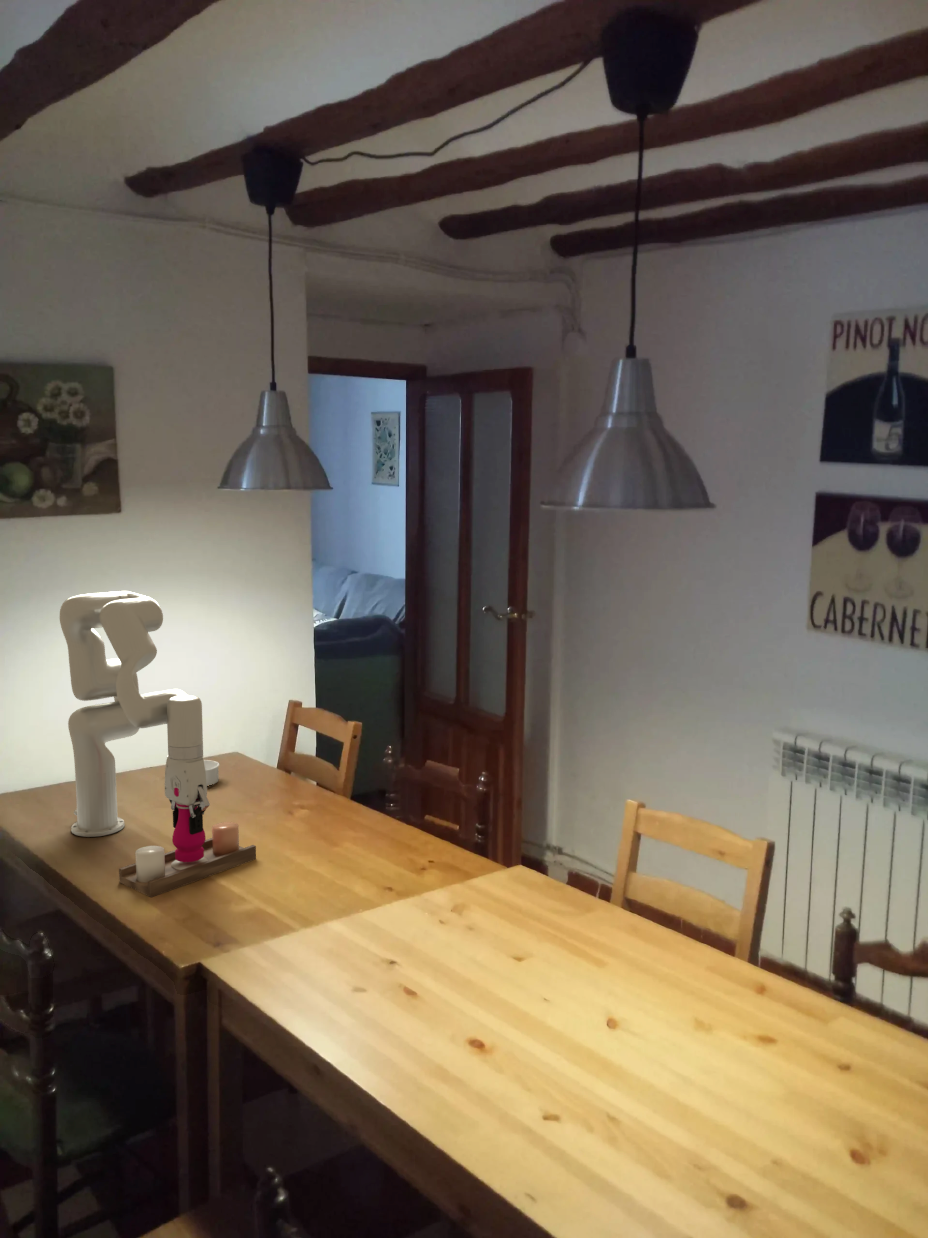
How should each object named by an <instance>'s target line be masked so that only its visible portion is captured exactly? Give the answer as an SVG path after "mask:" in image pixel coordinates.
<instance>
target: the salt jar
mask: <svg viewBox="0 0 928 1238" xmlns="http://www.w3.org/2000/svg"><path fill="white" fill-rule="evenodd" d="M135 863H136V877H137V880H138V881H139V882H144V883H148V881H151V880H154V879H157V878H160V877H163V876H165V848H164V847H163V846H160V845H147V846H143V847H140V848H138V849H136V850H135Z"/></svg>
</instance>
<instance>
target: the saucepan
mask: <svg viewBox="0 0 928 1238" xmlns="http://www.w3.org/2000/svg"><path fill="white" fill-rule="evenodd" d="M203 760H204V765H205V772H206V781H207V786H208V785H212V784H213V785H215V784H216V783H218V782H219V780H220V779H219V778H220V777H219V775H220V774H219V766H220V765H221V763H220V762H219V761H215V760H210V759H203ZM213 785H212V786H213Z"/></svg>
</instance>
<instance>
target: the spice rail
mask: <svg viewBox="0 0 928 1238" xmlns="http://www.w3.org/2000/svg"><path fill="white" fill-rule="evenodd" d="M202 847H203V848H204V856H203V858H202V859H200V860H197V861H193V862H180V861H177V860H176V859H175V850H176V849H174V850H171V851H167V852H164V854H165V876H163V877H160V878H157V879H154V880H151V881H148V883H144V882H139V881H138V880H137V877H136V862H135V863H131V864H129V865H125V866H122V867H119V868H118V875H119V877H118V878H119V879H118V880H119V884H122V885H125V886H126V887H128V888H131V889H132V890H135V891H136V892H139V893H142V894H143V895H145V896H147V897H149V898H153V897H156V896H158V895H162V894H164V893H167V892H169V891H172V890H175V889H178V888H181V887H184V886H186V885H189V884H191V883H194V882H197V881H199V880H203V879H205V878H208V877H211V876H213V875H217V874H219V873H221V872H224V871H227V870H230V869H233V868H236V867H239V866H241V865H244V864H247V863H250V862H252V861H255V860H257V846H256V845H254V844H251V845H248V846H246V847H243V846H240V845H239V850H237V851H234V852H231V853H228V854H226V855H223V856H218V855H215V854H213V846H212V837H210V838H207V839H205V842H204V844H203V845H202Z"/></svg>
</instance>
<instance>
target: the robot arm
mask: <svg viewBox="0 0 928 1238" xmlns="http://www.w3.org/2000/svg"><path fill="white" fill-rule="evenodd" d="M163 614H164V613H163V610H162V608H161V606H160V605H159V603H158V602H157V601H156V600H155V599H153V598H152V597H150V596H146V595H144V594H140V593H137V592H132V591H129V590H121V591H120V590H119V591H118V590H117V591H108V592H107V591H106V592H93V593H85V594H83V593H82V594H78V595H74V596H70V597H69V598H67V599H66V600H64V602H63V603H62V605H61V606H60V609H59V624H60V627H61V630H62V633H63V636H64V639H65V642H66V645H67V650H68V651H67V653H68V664H69V665H68V666H69V675H70V676H69V677H70V684H71V685H70V686H71V690H72V693H73V696H74V697H75V699H77V700H79V701H84V702H87V701H96V700H102V699H103V700H104V699H108V698H113V699H114V701H110V702H105V703H98V704H97V703H96V704H93V705H86V706H83V707H80V708H78V709H76V710H75V711H74V712H72V713H71V714H70V716H69V718H68V721H67V725H68V726H67V727H68V732H69V735H70V736H69V737H70V741H71V744H72V751H73V760H74V774H75V775H74V777H75V778H74V779H75V795H76V808H75V810H73V815H75V816H76V818H77V821H76V822H74V823H73V824H72V825H71V827H70V829H71V830H70V831H71V833H72V834H74V835H75V836H79V837H87V838H90V837H91V838H94V837H102V836H108V835H111V834H115V833H117V832H119V831H121V830H122V829H123V828H125V820H124V819H123V818H121V817H119V816H118V801H117V800H118V799H117V798H118V796H117V772H116V760H115V759H116V758H115V756H114V754H113V753H112V751H111V750H110V749H109V748H108V747H107V746H106V743H108V742H112V741H116V740H120V739H125V738H129V737H131V736H134V735H136V734H137V733H138V732H139V731H140V729H148V728H154V727H157V726H162V725H166V727H167V728H166V729H167V730H166V731H167V732H166V733H167V754H168V755H167V757H166V760H165V768H164V795H165V798H167V799H168V801H169V802H170V804H171V805H170V809H171V811H172V827H173V828H174V829H175V827H176V824H177V822H178V815H179V810H178V807H176V804H177V803H176V802H178V803H180V804H183V805H186V806H189V809H190V814H191V817H189V832H190V834H192V835H193V834H196V833H199V832H202V831H203V829H204V823H203V820H204V819H203V817H204V816H203V815H205V812H206V811H207V809H208V808H209V807H210V806H211V804H210V803H211V802H210V800H209V799H208V787H207V781H206V772H205V765H204V760H205V759H204V742H203V741H204V740H203V739H204V738H203V731H204V730H203V703H202V700H201V698H199V697H198V696H196V695H193V694H192V695H191V694H190V695H189V694H188V693H187V692H185V691H184V690H182V689H179V688H173V689H166V690H165V689H164V690H159V691H153V692H148V693H142V694H141V693H140V689H139V679H138V674H137V672H140V671H141V670H143V669H144V668H146V667H148V665H150V664H151V663H152V662H153V661H154V659H155V658H156V656H157V654H158V649H157V646H156V645H155V643H154V640H153V639H152V637H151V636H150V634H149V633H150V632H151V633H152V632H156V631H158V630H159V629H160V628H161V627H162V626H163V621H164V615H163ZM99 628H100V629H101V628H102V629H103V630H104V632H105V634H106V636H107V639H108V641H109V643H110V645H111V646H112V648H113V650H114V652H115V655H117V658H116V657H114V658H109V659H107V658H106V646H105V642H104V640H103V638H102V637H101V636H100V634H99V633H98V632H97V631H96V630H95V629H99ZM174 788H178V789H179V791H180V792H179V791H178V792H179V796H178V797H176V796H175V795H174ZM196 799H197V802H195V801H196ZM194 805H198V807H197V808H196V809H195V808H194Z"/></svg>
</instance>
